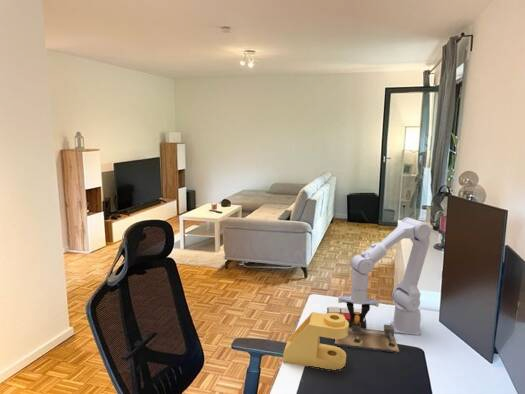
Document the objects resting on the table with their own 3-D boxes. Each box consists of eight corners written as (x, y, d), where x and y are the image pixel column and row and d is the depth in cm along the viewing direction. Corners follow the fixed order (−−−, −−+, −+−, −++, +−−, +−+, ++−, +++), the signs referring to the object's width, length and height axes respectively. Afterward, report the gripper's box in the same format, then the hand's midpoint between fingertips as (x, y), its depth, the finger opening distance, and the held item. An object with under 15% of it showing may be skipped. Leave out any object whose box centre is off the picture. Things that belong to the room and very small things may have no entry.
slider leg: (359, 329, 144) (360, 311, 143) (361, 341, 135) (363, 322, 134) (351, 328, 144) (352, 311, 143) (353, 340, 136) (354, 321, 135)
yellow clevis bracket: (346, 357, 128) (349, 313, 125) (344, 373, 119) (348, 326, 117) (288, 347, 133) (290, 304, 130) (282, 361, 124) (285, 316, 121)
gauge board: (391, 334, 144) (393, 323, 143) (398, 353, 131) (400, 341, 131) (333, 328, 147) (334, 317, 146) (334, 346, 134) (335, 334, 134)
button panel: (327, 305, 159) (363, 307, 157) (327, 315, 160) (363, 317, 158) (327, 317, 149) (366, 320, 146) (327, 327, 149) (366, 330, 147)
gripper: (377, 285, 142) (374, 318, 145) (338, 281, 144) (336, 314, 147) (380, 292, 135) (377, 327, 138) (339, 288, 138) (337, 323, 140)
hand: (356, 321), depth 142 cm, fingers closed on slider leg, 3 cm apart
